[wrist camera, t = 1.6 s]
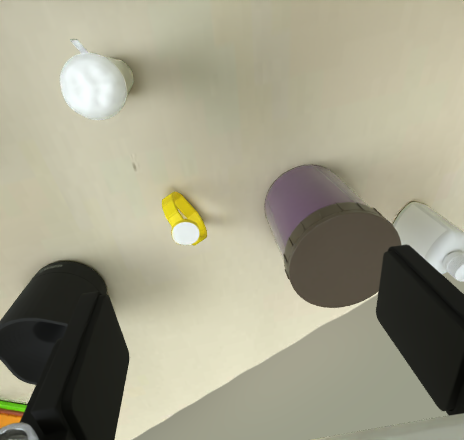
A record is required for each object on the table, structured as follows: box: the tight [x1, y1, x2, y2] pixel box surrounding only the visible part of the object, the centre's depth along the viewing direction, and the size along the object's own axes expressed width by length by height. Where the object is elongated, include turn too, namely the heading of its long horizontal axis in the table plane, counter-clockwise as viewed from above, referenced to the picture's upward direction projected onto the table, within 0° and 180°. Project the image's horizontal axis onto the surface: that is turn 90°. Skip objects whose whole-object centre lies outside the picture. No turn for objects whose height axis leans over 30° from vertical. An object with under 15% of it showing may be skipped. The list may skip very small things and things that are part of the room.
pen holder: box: [0, 262, 107, 385], centre depth 38 cm, size 9×9×10 cm
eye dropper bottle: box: [393, 202, 464, 282], centre depth 37 cm, size 4×6×12 cm
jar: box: [265, 165, 370, 260], centre depth 35 cm, size 10×10×12 cm
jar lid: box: [283, 202, 401, 308], centre depth 30 cm, size 10×10×2 cm
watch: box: [162, 192, 207, 245], centre depth 36 cm, size 6×3×6 cm, turn 35°
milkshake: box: [60, 39, 134, 120], centre depth 27 cm, size 4×5×10 cm
